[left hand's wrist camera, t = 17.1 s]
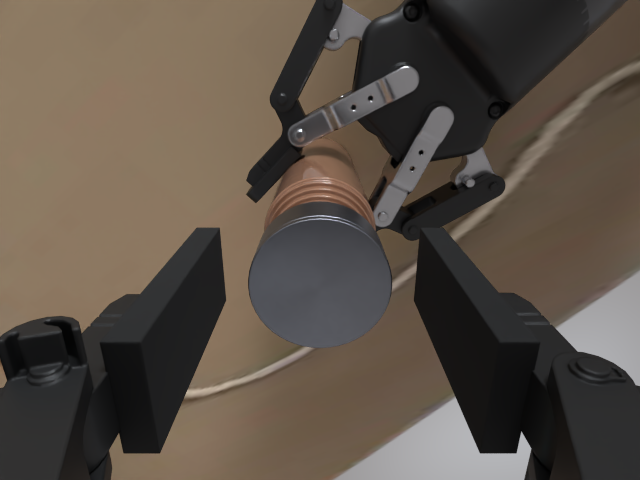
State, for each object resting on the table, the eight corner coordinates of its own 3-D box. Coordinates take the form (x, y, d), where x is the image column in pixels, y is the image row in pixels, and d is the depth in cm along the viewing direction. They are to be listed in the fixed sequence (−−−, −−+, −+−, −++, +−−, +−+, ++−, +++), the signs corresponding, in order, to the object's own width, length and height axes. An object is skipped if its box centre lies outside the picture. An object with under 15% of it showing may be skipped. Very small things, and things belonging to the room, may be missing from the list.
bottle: (302, 213, 30) (283, 359, 14) (276, 153, 29) (220, 241, 13) (362, 189, 30) (412, 314, 14) (338, 127, 28) (363, 185, 12)
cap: (409, 260, 14) (422, 286, 13) (321, 338, 16) (321, 371, 14) (318, 173, 13) (318, 187, 12) (231, 263, 15) (218, 288, 13)
